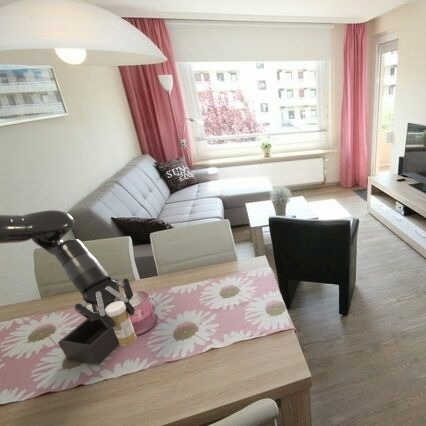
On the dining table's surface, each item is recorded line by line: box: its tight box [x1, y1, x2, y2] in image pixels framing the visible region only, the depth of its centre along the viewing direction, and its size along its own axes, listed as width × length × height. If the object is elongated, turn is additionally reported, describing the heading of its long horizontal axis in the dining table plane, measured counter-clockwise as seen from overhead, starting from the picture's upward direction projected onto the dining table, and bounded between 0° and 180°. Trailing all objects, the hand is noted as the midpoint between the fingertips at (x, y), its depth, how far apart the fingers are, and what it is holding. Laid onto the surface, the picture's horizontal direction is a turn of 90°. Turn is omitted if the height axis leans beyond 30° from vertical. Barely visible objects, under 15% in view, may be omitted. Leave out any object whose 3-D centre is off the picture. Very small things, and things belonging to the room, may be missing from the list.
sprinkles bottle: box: [105, 301, 138, 347], centre depth 84 cm, size 5×5×14 cm
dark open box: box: [57, 312, 119, 365], centre depth 105 cm, size 14×13×8 cm
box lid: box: [91, 278, 121, 314], centre depth 107 cm, size 14×13×1 cm
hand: (123, 320), depth 82 cm, fingers closed on sprinkles bottle, 4 cm apart
